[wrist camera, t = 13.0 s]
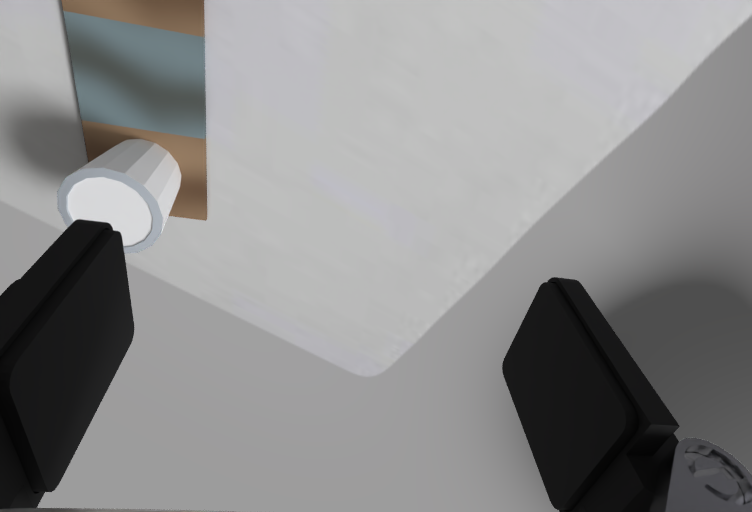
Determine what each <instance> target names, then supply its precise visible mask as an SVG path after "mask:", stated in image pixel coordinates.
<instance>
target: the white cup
mask: <svg viewBox="0 0 752 512" xmlns="http://www.w3.org/2000/svg"><path fill="white" fill-rule="evenodd" d="M180 183H181V172H180V169H179V166H178V163H177V162H176V161H175V159H174V158H173V157H172V155H171V154H170V153H169V152H168V151H167V150H165V149H164V148H162V147H161V146H159V145H158V144H156V143H154V142H150V141H147V140H144V139H129V140H125V141H123V142H121V143H120V144H118V145H116V146H114V147H113V148H111V149H109V150H108V151H106V152H105V153H103V154H102V155H100V156H98V157H97V158H95V159H94V160H92V161H91V162H89V163H88V164H86V165H84V166H83V167H81V168H80V169H78V170H77V171H75V172H73V173H72V174H70V175H69V176H67V177H66V178H65V179H64V181H63V183H62V184H61V186H60V188H59V189H58V191H57V199H58V210H59V212H60V214H61V216H62V218H63V220H64V222H65V224H66V225H67V226H68V227H69V226H70V225H71V224H72V223H73V222H74V221H75V220H77V219H83V220H91V221H99V222H107V223H109V224H111V226H112V228H113V230H115V231H119V232H120V233H121V235H122V240H123V248H124V254H125V253H138V252H140V251H142V250H144V249H146V248H148V247H150V246H152V245H153V244H154V243H155V241H156V240H157V239H158V237H159V236H160V235H161V233H162V231H163V228H164V226H165V223H166V221H167V218H168V216H169V213H170V211H171V208H172V206H173V203H174V201H175V198H176V196H177V193H178V191H179V188H180Z"/></svg>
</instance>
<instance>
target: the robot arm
mask: <svg viewBox="0 0 752 512" xmlns="http://www.w3.org/2000/svg"><path fill="white" fill-rule="evenodd" d="M133 335H134V321H133V314H132V307H131V299H130V292H129V285H128V278H127V270H126V263H125V255H124V248H123V240H122V235H121V233H120V232H119V231H115V230H113V228H112V226H111V224H109V223H107V222H99V221H91V220H83V219H77V220H75V221H74V222H73V223H72V224H71V225H70V226H69V227H68V228H67V229H66V230H65V231H64V232H63V234H62V235H61V236H60V237H59V238H58V239H57V240H56V241H55V242H54V243H53V244H52V245H51V246H50V247H49V249H48V250H47V251H46V252H45V253H44V254H43V255H42V256H41V257H40V258H39V259H38V260H37V261H36V263H35V264H34V265H33V266H32V267H31V268H30V269H29V270H28V271H27V272H26V273H25V274H24V275H23V277H22V278H21V279H19V280H16V281H15V282H14V283H13V284H11V285H10V286H9V287H8V288H7V289H6V290H5V291H4V292H3V293H2V295H1V296H0V512H229V511H192V510H155V509H154V510H153V509H152V510H151V509H77V508H74V509H72V508H70V509H69V508H37V506H38V504H39V502H40V500H41V498H42V497H43V495H44V493H45V492H52V491H54V490H55V488H56V487H57V486H58V484H59V483H60V481H61V479H62V477H63V475H64V473H65V471H66V469H67V467H68V465H69V463H70V461H71V459H72V458H73V455H74V454H75V451H76V450H77V448H78V446H79V444H80V442H81V440H82V438H83V436H84V434H85V432H86V430H87V428H88V426H89V424H90V422H91V421H92V419H93V417H94V415H95V413H96V411H97V409H98V407H99V405H100V402H101V401H102V399H103V397H104V395H105V393H106V391H107V389H108V387H109V385H110V383H111V381H112V379H113V378H114V376H115V374H116V372H117V370H118V368H119V366H120V364H121V362H122V360H123V358H124V356H125V354H126V352H127V350H128V348H129V346H130V344H131V342H132V339H133ZM502 369H503V375H504V378H505V381H506V383H507V386H508V389H509V391H510V394H511V397H512V400H513V402H514V405H515V407H516V410H517V413H518V416H519V418H520V421H521V424H522V426H523V429H524V432H525V434H526V437H527V440H528V443H529V445H530V448H531V450H532V453H533V456H534V459H535V461H536V464H537V467H538V469H539V472H540V475H541V477H542V480H543V483H544V486H545V488H546V491H547V493H548V496H549V499H550V501H551V503H552V505H553V506H554V508H555V509H557V510H559V511H560V512H752V474H751V473H750V472H749V471H748V470H747V468H746V467H745V466H744V465H743V464H742V463H740V462H739V461H738V460H737V459H736V458H735V457H734V456H733V455H731V454H729V453H728V452H727V451H725V450H724V449H722V448H721V447H719V446H717V445H715V444H713V443H711V442H709V441H707V440H702V439H699V438H684V439H682V440H681V441H678V440H677V438H676V436H675V435H674V432H675V431H676V430H677V429H678V428H679V425H678V423H677V422H676V420H675V419H674V417H673V416H672V414H671V413H670V412H669V410H668V409H667V407H666V406H665V405H664V403H663V402H662V400H661V399H660V397H659V396H658V394H657V393H656V391H655V390H654V389H653V387H652V386H651V384H650V383H649V381H648V380H647V378H646V377H645V376H644V374H643V373H642V371H641V370H640V368H639V367H638V366H637V364H636V363H635V361H634V360H633V358H632V357H631V355H630V354H629V352H628V351H627V350H626V348H625V347H624V345H623V344H622V342H621V341H620V339H619V338H618V337H617V335H616V334H615V332H614V331H613V330H612V328H611V326H610V325H609V324H608V322H607V321H606V319H605V318H604V316H603V315H602V313H601V312H600V311H599V309H598V308H597V307H596V305H595V303H594V302H593V300H592V299H591V298H590V296H589V295H588V293H587V292H586V290H585V289H584V287H583V286H582V285H581V283H580V282H579V281H577V280H572V279H564V278H555V277H554V278H551V279H550V280H548V282H545V283H543V284H542V285H541V286H540V287H539V290H538V292H537V294H536V296H535V298H534V300H533V302H532V304H531V306H530V308H529V310H528V312H527V314H526V316H525V318H524V320H523V322H522V324H521V326H520V328H519V330H518V332H517V334H516V336H515V338H514V340H513V342H512V344H511V346H510V348H509V350H508V352H507V354H506V356H505V358H504V361H503V367H502ZM230 512H231V511H230ZM232 512H234V511H232Z"/></svg>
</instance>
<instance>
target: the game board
mask: <svg viewBox="0 0 752 512" xmlns="http://www.w3.org/2000/svg"><path fill="white" fill-rule="evenodd" d="M62 6H63V12H64V18H65V24H66V30H67V36H68V42H69V48H70V54H71V60H72V66H73V72H74V78H75V84H76V91H77V97H78V103H79V109H80V115H81V121H82V127H83V133H84V139H85V145H86V151H87V157H88V163H89V162H91V161H92V160H94V159H95V158H97V157H98V156H100V155H102V154H103V153H105V152H106V151H108V150H109V149H111V148H113V147H114V146H116V145H118V144H120V143H121V142H123V141H125V140H129V139H144V140H147V141H150V142H154V143H156V144H158V145H159V146H161V147H162V148H164V149H165V150H167V151H168V152H169V153H170V154H171V155H172V157H173V158H174V159H175V161H176V162H177V163H178V166H179V169H180V172H181V183H180V188H179V191H178V193H177V196H176V198H175V201H174V203H173V206H172V208H171V211H170V213H169V216H175V217H183V218H191V219H199V220H206V219H207V175H206V105H205V35H204V0H62Z"/></svg>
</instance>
